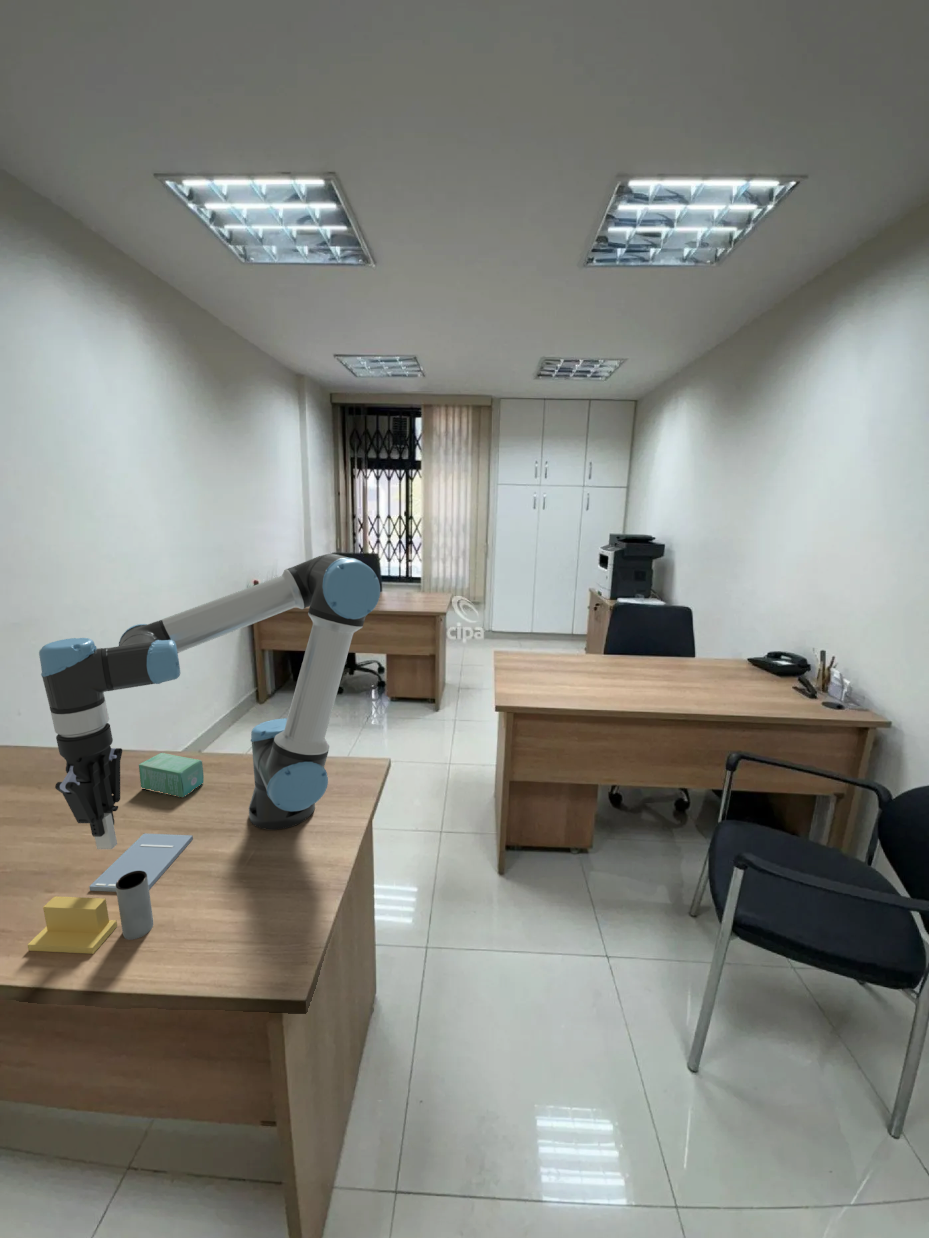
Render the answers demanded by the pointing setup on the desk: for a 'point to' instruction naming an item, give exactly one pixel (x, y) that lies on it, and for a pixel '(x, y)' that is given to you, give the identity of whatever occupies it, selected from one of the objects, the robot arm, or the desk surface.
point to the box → (171, 774)
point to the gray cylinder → (134, 904)
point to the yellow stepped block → (74, 925)
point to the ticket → (144, 859)
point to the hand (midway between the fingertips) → (107, 846)
